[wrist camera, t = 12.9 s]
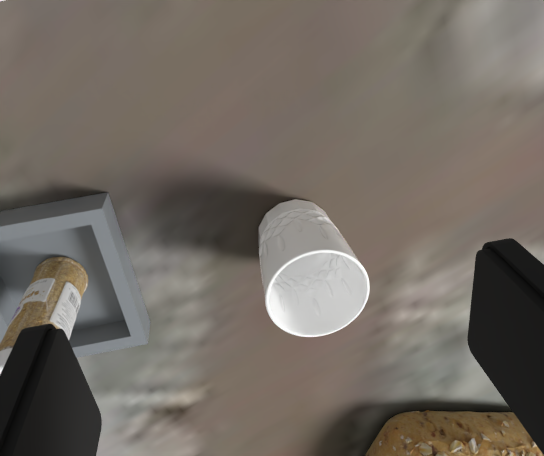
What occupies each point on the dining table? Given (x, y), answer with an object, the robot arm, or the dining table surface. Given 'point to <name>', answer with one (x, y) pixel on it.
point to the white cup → (309, 271)
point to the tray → (86, 251)
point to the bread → (453, 435)
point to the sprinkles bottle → (48, 300)
